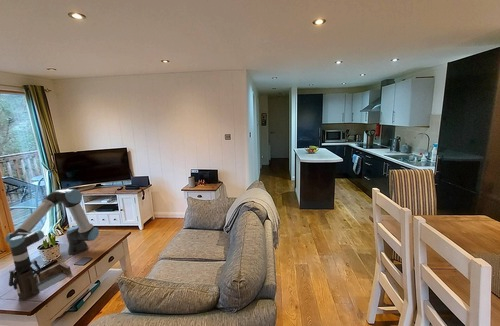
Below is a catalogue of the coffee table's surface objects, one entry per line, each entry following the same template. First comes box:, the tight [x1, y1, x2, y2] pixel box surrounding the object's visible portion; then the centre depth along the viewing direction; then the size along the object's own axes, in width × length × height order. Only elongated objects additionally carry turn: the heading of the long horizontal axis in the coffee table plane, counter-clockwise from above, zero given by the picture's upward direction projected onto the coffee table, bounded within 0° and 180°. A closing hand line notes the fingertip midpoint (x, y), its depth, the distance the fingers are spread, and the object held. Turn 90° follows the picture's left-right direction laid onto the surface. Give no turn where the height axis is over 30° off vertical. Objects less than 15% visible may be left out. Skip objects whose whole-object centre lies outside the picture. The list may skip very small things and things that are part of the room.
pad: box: [36, 271, 69, 292], centre depth 177 cm, size 17×12×1 cm
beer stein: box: [13, 266, 40, 302], centre depth 161 cm, size 15×11×20 cm
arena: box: [33, 261, 72, 284], centre depth 178 cm, size 20×14×6 cm
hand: (28, 287), depth 161 cm, fingers open, 10 cm apart
